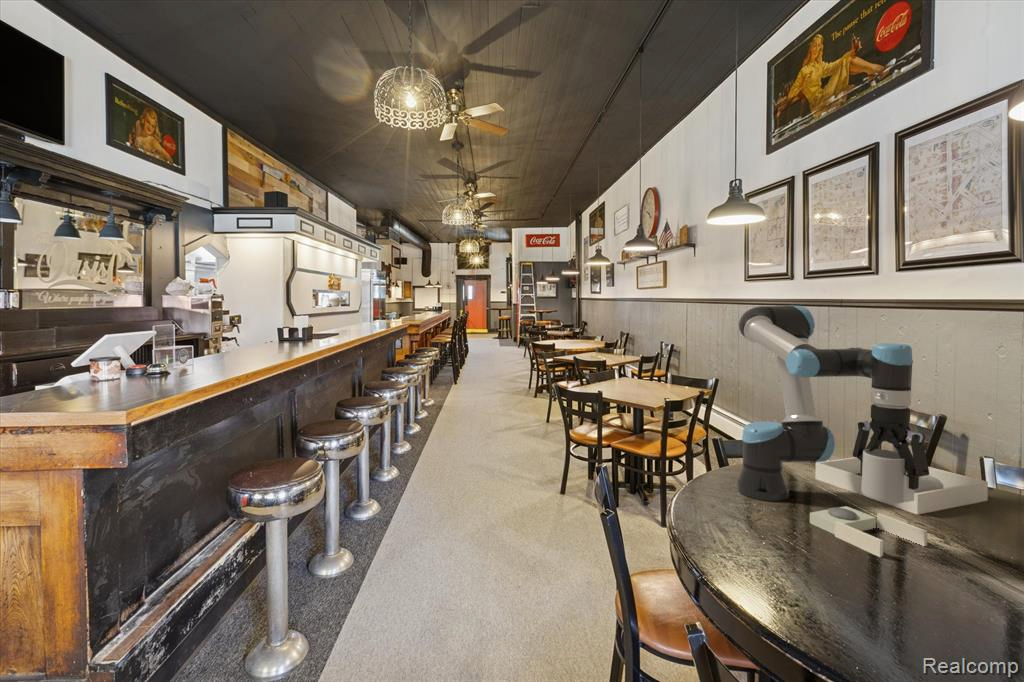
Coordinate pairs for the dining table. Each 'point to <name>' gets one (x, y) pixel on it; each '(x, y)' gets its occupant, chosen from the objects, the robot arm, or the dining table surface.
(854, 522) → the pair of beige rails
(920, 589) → the dining table surface
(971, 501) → the shallow rectangular tray
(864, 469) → the mug
